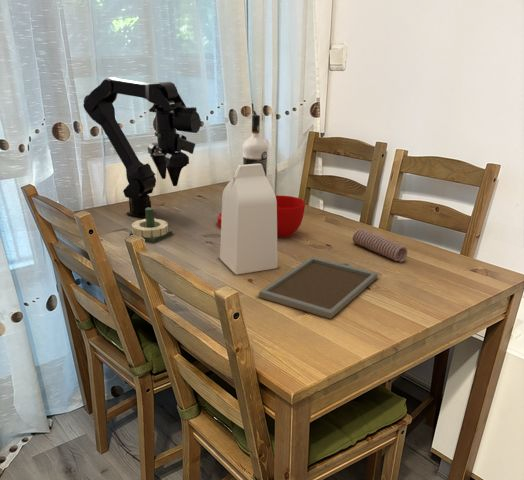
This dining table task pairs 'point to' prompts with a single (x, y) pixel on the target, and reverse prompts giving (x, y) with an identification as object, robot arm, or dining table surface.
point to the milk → (249, 222)
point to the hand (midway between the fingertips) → (169, 182)
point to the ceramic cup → (289, 215)
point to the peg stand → (151, 224)
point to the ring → (143, 231)
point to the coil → (380, 245)
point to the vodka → (255, 146)
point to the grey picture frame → (319, 286)
